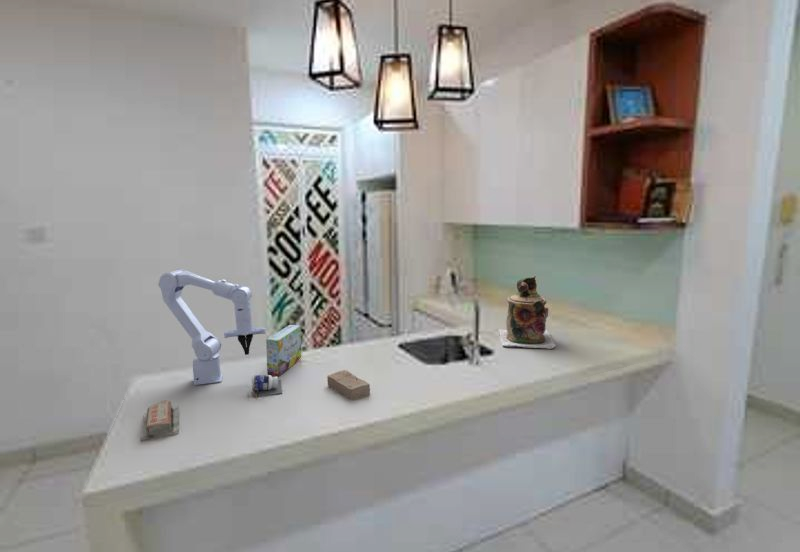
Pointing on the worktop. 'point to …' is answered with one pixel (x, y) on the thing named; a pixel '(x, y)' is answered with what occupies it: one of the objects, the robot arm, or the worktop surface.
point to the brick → (348, 385)
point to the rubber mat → (271, 390)
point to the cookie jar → (526, 318)
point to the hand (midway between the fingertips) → (247, 353)
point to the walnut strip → (255, 393)
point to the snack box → (283, 350)
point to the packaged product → (160, 421)
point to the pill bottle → (264, 382)
